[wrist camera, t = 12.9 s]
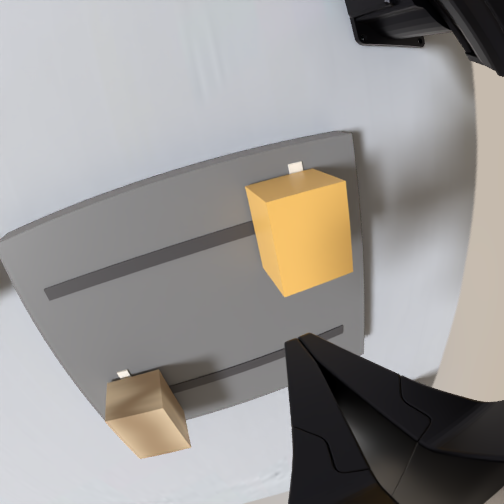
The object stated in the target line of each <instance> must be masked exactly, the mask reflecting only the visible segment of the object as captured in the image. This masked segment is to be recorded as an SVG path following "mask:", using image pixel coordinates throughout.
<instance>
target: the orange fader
mask: <svg viewBox="0 0 504 504" xmlns="http://www.w3.org/2000/svg"><path fill="white" fill-rule="evenodd" d="M245 189H246V193H247V198H248V202H249V207H250V211H251V216H252V220H253V225H254V229H255V234H256V238H257V243H258V247H259V252H260V256H261V261H262V266H263V268H264V270H265V271H266V272H267V274H268V275H269V277H270V278H271V279H272V281H273V282H274V284H275V285H276V286H277V288H278V289H279V291H280V292H281V293H282V295H283V296H284V297H287V296H290V295H293V294H296V293H298V292H301V291H304V290H306V289H309V288H312V287H315V286H317V285H320V284H323V283H325V282H328V281H331V280H333V279H336V278H338V277H341V276H344V275H346V274H349V273H351V272H353V260H352V245H351V231H350V219H349V209H348V199H347V189H346V181H345V180H342V179H340V178H337V177H334V176H332V175H329V174H326V173H324V172H321V171H318V170H315V169H309V170H305V171H301V172H297V173H293V174H289V175H285V176H281V177H277V178H273V179H270V180H266V181H262V182H258V183H255V184H251V185H248V186H245Z"/></svg>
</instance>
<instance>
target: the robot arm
mask: <svg viewBox="0 0 504 504" xmlns="http://www.w3.org/2000/svg"><path fill="white" fill-rule="evenodd" d="M345 3H346V7H347V10H348V14H349V16H350V20H351V24H352V29H353V33H354V37H355V40H356V42H357V43H358V44H360V45H389V46H407V47H423V46H424V44H425V41H424V37H423V36H425V35H432V34H440V33H448V32H453V33H454V35H455V36H456V38H457V39H458V41H459V42H460V44H461V45H462V47H463V48H464V50H465V51H466V52H465V54H466V55H467V57H468V58H469V60H470V61H473V62H476V63H479V64H482V65H485V66H487V67H489V68H491V69H492V70H495V71H496V72H497V74H498V75H499V76H502V77H504V0H345ZM361 35H362V36H363V38H364V40H362V38H361ZM418 40H419V42H418ZM284 347H285V358H286V368H287V379H288V391H289V402H290V414H291V426H292V443H293V460H292V474H291V483H290V491H289V500H288V504H504V400H502V401H497V402H482V401H477V400H473V399H469V398H465V397H462V396H458V395H454V394H451V393H447V392H444V391H441V390H438V389H435V388H432V387H429V386H426V385H423V384H421V383H418V382H416V381H414V380H411V379H409V378H407V377H404V376H400V375H399V374H397V373H395V372H393V371H391V370H389V369H386V368H384V367H382V366H380V365H378V364H375V363H373V362H371V361H369V360H367V359H365V358H363V357H360V356H358V355H356V354H354V353H352V352H350V351H348V350H346V349H343V348H341V347H339V346H337V345H335V344H333V343H331V342H329V341H327V340H325V339H323V338H321V337H319V336H316V335H314V334H312V333H306V334H304V335H301V336H299V337H298V338H293V339H291V340H288V341H286V342H285V343H284Z"/></svg>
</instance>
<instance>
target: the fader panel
mask: <svg viewBox="0 0 504 504" xmlns="http://www.w3.org/2000/svg"><path fill="white" fill-rule="evenodd" d="M309 169H315V170H318V171H321V172H324V173H326V174H329V175H332V176H334V177H337V178H340V179H342V180H345V181H346V189H347V199H348V209H349V219H350V231H351V245H352V260H353V272H351V273H349V274H346V275H344V276H341V277H338V278H336V279H333V280H331V281H328V282H325V283H323V284H320V285H317V286H315V287H312V288H309V289H306V290H304V291H301V292H298V293H296V294H293V295H290V296H287V297H284V296H283V295H282V293H281V292H280V291H279V289H278V288H277V286H276V285H275V284H274V282H273V281H272V279H271V278H270V277H269V275H268V274H267V272H266V271H265V270H264V268H263V266H262V261H261V256H260V252H259V247H258V243H257V238H256V234H255V229H254V225H253V220H252V216H251V211H250V207H249V202H248V198H247V193H246V189H245V186H248V185H251V184H255V183H258V182H262V181H266V180H270V179H273V178H277V177H281V176H285V175H289V174H293V173H297V172H301V171H305V170H309ZM0 259H1V261H2V264H3V266H4V268H5V270H6V272H7V274H8V276H9V278H10V280H11V282H12V284H13V286H14V288H15V290H16V292H17V293H18V295H19V297H20V299H21V301H22V303H23V304H24V306H25V308H26V310H27V312H28V313H29V315H30V317H31V318H32V320H33V322H34V323H35V325H36V327H37V328H38V330H39V332H40V333H41V335H42V336H43V338H44V340H45V341H46V343H47V344H48V346H49V347H50V349H51V350H52V352H53V353H54V355H55V356H56V358H57V359H58V361H59V362H60V364H61V365H62V366H63V368H64V369H65V371H66V372H67V373H68V375H69V376H70V377H71V379H72V380H73V382H74V383H75V384H76V386H77V387H78V388H79V389H80V391H81V392H82V393H83V395H84V396H85V397H86V398H87V400H88V401H89V402H90V403H91V405H92V406H93V407H94V408H95V409H96V411H97V412H98V413H99V414H100V415H101V417H102V418H103V419H104V420H105V409H106V392H107V383H109V382H113V381H117V380H121V379H125V378H129V377H133V376H136V375H140V374H144V373H147V372H151V371H155V370H158V369H159V370H160V372H161V374H162V376H163V377H164V379H165V381H166V382H167V384H168V386H169V388H170V389H171V391H172V393H173V394H174V396H175V398H176V399H177V401H178V403H179V404H180V406H181V407H182V409H183V411H184V414H185V419H186V420H188V419H192V418H195V417H199V416H202V415H206V414H209V413H213V412H216V411H219V410H222V409H225V408H229V407H232V406H235V405H238V404H241V403H244V402H247V401H250V400H253V399H255V398H258V397H261V396H264V395H267V394H269V393H272V392H275V391H278V390H280V389H283V388H285V387H288V379H287V368H286V358H285V347H284V343H285V342H286V341H288V340H291V339H293V338H298V337H299V336H301V335H304V334H306V333H312V334H314V335H316V336H319V337H321V338H323V339H325V340H327V341H329V342H331V343H333V344H335V345H337V346H339V347H341V348H343V349H346V350H348V351H350V352H352V353H354V354H356V355H358V356H360V355H362V354H364V267H363V244H362V228H361V214H360V201H359V190H358V180H357V171H356V162H355V154H354V146H353V138H352V133H346V132H339V131H332V132H327V133H322V134H317V135H312V136H307V137H302V138H297V139H292V140H288V141H283V142H279V143H274V144H270V145H265V146H261V147H257V148H253V149H249V150H245V151H241V152H237V153H233V154H229V155H225V156H222V157H218V158H214V159H211V160H207V161H203V162H200V163H196V164H193V165H190V166H186V167H183V168H179V169H176V170H173V171H170V172H166V173H163V174H160V175H157V176H154V177H151V178H147V179H144V180H141V181H138V182H135V183H132V184H130V185H127V186H124V187H121V188H118V189H115V190H112V191H110V192H107V193H104V194H101V195H99V196H96V197H93V198H90V199H88V200H85V201H83V202H80V203H77V204H75V205H72V206H70V207H67V208H65V209H62V210H60V211H57V212H55V213H53V214H50V215H48V216H45V217H43V218H41V219H38V220H36V221H34V222H31V223H29V224H27V225H25V226H22V227H20V228H18V229H16V230H13V231H11V232H9V233H7V234H6V235H5V236H4V237H3V238H1V239H0Z"/></svg>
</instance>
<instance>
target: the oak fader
mask: <svg viewBox="0 0 504 504" xmlns="http://www.w3.org/2000/svg"><path fill="white" fill-rule="evenodd" d="M105 422H106V423H107V424H108V426H109V427H110V428H111V429H112V430H113V431H114V432H115V433H116V434H117V436H118V437H119V438H120V439H121V440H122V441H123V442H124V443H125V444H126V445H127V446H128V447H129V448H130V449H131V450H132V451H133V452H134V453H135V454H136V455H137V456H138V457H139V458H140V459H142V458H147V457H152V456H157V455H162V454H166V453H171V452H175V451H179V450H183V449H187V448H191V444H190V439H189V434H188V429H187V424H186V419H185V414H184V411H183V409H182V407H181V406H180V404H179V403H178V401H177V399H176V398H175V396H174V394H173V393H172V391H171V389H170V388H169V386H168V384H167V382H166V381H165V379H164V377H163V376H162V374H161V372H160V370H159V369H158V370H155V371H151V372H147V373H144V374H140V375H136V376H133V377H129V378H125V379H121V380H117V381H113V382H109V383H107V392H106V409H105Z"/></svg>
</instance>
